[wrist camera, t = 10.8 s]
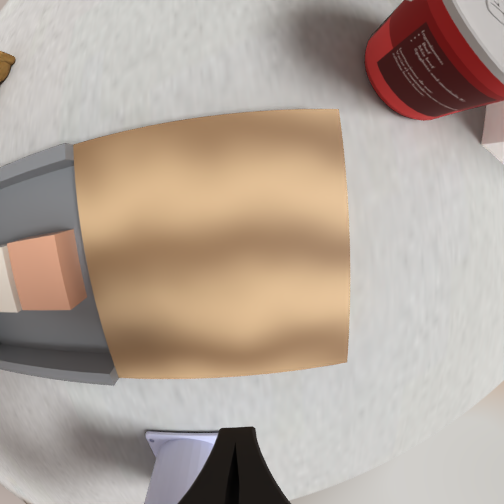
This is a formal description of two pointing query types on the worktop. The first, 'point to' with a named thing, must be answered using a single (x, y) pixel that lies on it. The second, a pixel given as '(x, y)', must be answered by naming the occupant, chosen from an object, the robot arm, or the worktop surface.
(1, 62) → the tap handle
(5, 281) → the tile
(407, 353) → the worktop surface
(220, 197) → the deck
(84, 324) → the tray
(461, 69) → the canned food
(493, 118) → the milk
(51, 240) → the tile
